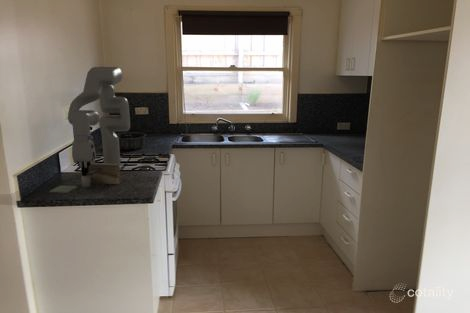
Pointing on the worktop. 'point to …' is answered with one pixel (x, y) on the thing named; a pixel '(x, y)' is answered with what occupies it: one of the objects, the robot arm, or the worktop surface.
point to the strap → (94, 171)
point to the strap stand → (105, 173)
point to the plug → (85, 181)
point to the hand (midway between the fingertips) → (85, 174)
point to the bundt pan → (131, 140)
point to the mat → (63, 189)
